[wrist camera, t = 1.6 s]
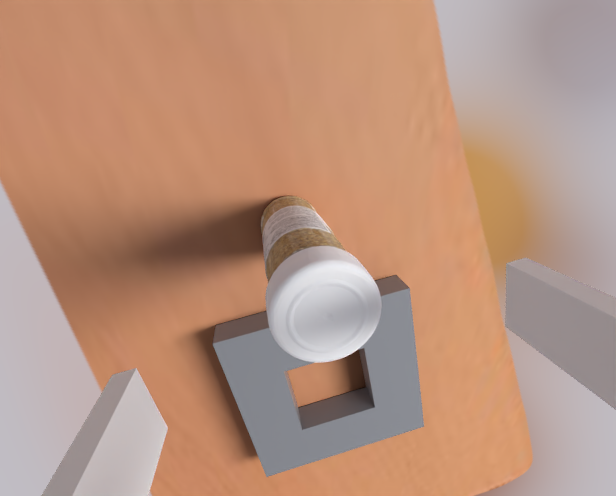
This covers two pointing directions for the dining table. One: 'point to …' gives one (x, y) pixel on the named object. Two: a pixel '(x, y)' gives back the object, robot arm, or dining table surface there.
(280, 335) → the sprinkles bottle
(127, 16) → the dining table surface
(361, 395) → the socket plate
